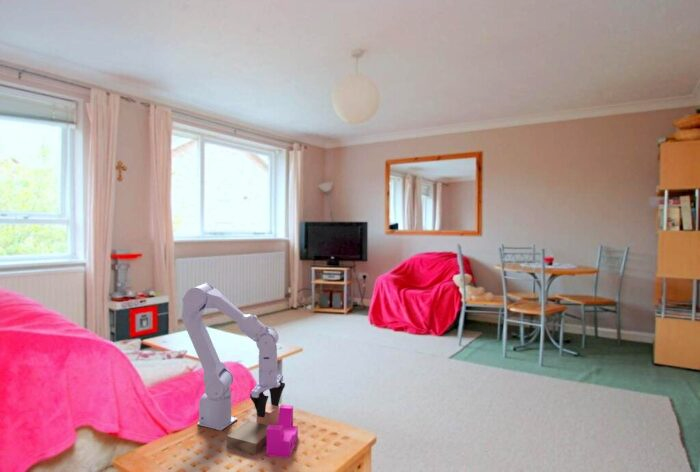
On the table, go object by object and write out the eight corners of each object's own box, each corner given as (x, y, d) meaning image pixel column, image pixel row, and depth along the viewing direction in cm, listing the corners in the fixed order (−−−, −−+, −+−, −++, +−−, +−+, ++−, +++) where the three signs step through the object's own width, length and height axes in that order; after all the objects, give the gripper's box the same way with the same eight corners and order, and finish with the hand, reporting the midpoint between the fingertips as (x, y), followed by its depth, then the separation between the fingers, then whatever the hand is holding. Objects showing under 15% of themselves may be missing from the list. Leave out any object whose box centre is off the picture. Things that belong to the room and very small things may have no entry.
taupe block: (226, 446, 117) (226, 436, 117) (248, 430, 127) (248, 420, 126) (256, 454, 113) (256, 443, 113) (276, 437, 123) (276, 427, 123)
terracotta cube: (256, 425, 130) (256, 409, 129) (265, 418, 134) (265, 403, 134) (270, 428, 128) (270, 412, 127) (278, 421, 132) (279, 406, 132)
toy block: (289, 457, 112) (289, 430, 112) (266, 456, 113) (266, 429, 113) (301, 430, 127) (301, 406, 127) (281, 428, 128) (281, 404, 128)
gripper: (265, 378, 122) (265, 424, 123) (291, 363, 135) (291, 403, 136) (245, 375, 125) (246, 419, 125) (272, 360, 138) (272, 400, 139)
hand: (268, 411), depth 131 cm, fingers open, 7 cm apart
